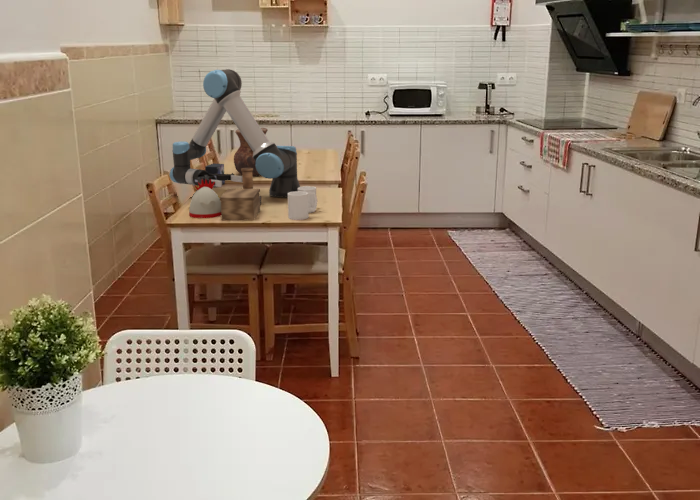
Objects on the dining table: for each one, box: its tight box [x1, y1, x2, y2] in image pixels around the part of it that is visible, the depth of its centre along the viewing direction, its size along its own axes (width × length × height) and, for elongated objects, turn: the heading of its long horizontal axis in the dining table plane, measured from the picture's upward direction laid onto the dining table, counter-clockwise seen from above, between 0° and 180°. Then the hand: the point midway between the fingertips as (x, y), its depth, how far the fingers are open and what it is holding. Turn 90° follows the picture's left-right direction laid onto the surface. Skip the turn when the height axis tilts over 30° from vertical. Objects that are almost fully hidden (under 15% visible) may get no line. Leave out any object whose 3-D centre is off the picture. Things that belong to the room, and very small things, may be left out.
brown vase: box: [233, 127, 268, 177], centre depth 379 cm, size 22×21×25 cm
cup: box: [287, 191, 318, 221], centre depth 282 cm, size 8×12×10 cm
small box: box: [204, 163, 226, 188], centre depth 352 cm, size 11×6×10 cm, turn 168°
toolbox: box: [219, 188, 262, 221], centre depth 294 cm, size 14×33×9 cm, turn 179°
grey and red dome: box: [188, 179, 222, 219], centre depth 288 cm, size 14×14×15 cm
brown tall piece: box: [241, 168, 254, 189], centre depth 305 cm, size 5×5×16 cm
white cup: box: [297, 185, 317, 214], centre depth 292 cm, size 8×8×10 cm
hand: (232, 181), depth 310 cm, fingers open, 13 cm apart
